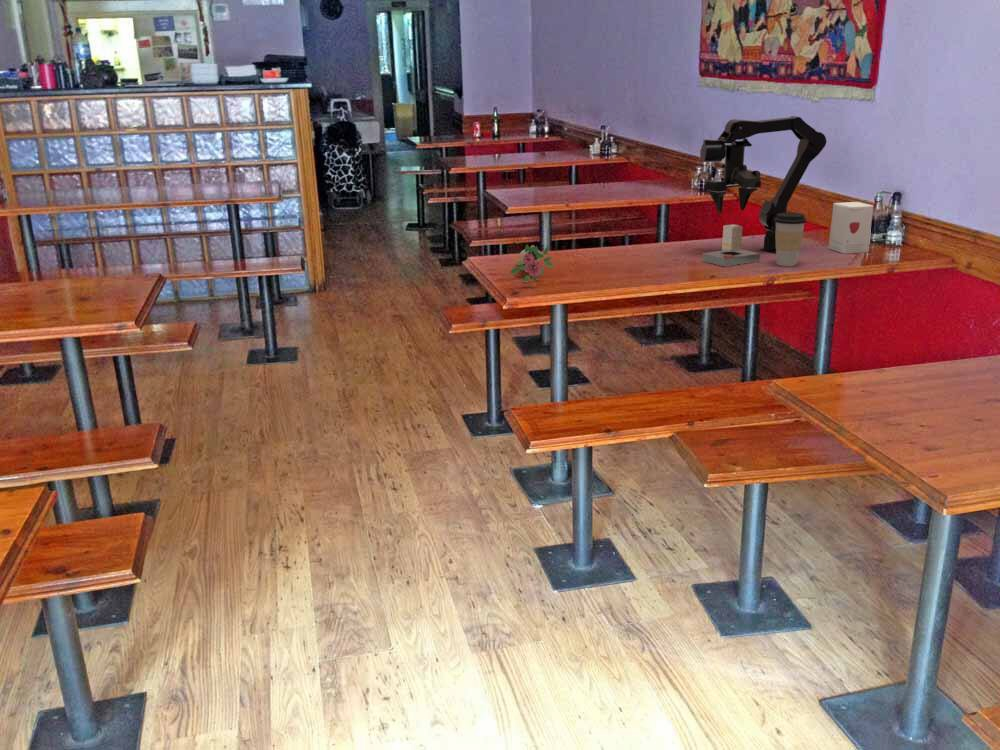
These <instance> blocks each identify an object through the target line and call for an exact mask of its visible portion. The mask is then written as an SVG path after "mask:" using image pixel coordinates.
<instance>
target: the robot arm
mask: <svg viewBox="0 0 1000 750" xmlns="http://www.w3.org/2000/svg"><path fill="white" fill-rule="evenodd" d="M784 131H791V132H792V134H794V136H795V137H796V139H798V140H799V142H798V145H797V150H796V156H795V158H794V160H793V162H792V163H791V166H790V168H789V169H788V170H787V171H788V172H787V173H786V175H785V177H784V178H783V180H782V182H781V184H780V186H779V188H778V190H777V191H776V193H775V194H774V197H773V198H772V199H771V200H767V199H765V200H764V201H763V205H762V206H761V208H760V209H758V212H759V215H758V219H759V222H760V224H762V225H763V228H764V230H765V233H764V234H765V235H764V239H763V241H764V242H763V247H760V250H762V251H765V252H770V253H776V238H775V230H776V222H774V218H775V217H776V216H777V214H778V213H788V212H787V211H788V204H789V201H790V200H791V198H792V197H793V194H794V193H795V191H796V189H797V187H798V185H799V183H800V181H801V180H802V179H803V176H804V174H805V172H806V170H807V169H808V167H809V165H810V164H811V162H812V161H813V160H814V159H816V157H818V156H819V154H820V153H821V152H822V151H823V150H824V148H825V147H826V145H827V142H828V141H827V138H826V135H825V134H824V133H823V132H820V131H817V130H816V129H815V128H814V127H812V126H811V125H809V124H808V123H807V122H806V121H805V120H803V118H802V117H800V116H797V115H796V116H795V115H791V116H788V117H780V118H769V119H759V120H746V119H737V118H734V119H729V120H728V121H727V123H726V124H725V126H724V130H723V131H722V133H721V134H720V135H719V136H718V138H717V139H703V142H702V145H701V149H700V151H699V155H700V162H701V163H720V162H722V161H723V160H724V163H723V164H721V168H722V169H724V171H723V172H724V173H723V177H720V180H717V179H714V180H706V181H705V182H704V185H703V189H704V191H706V192H707V193H709V194H710V195H709V196H711V199H712V200H713V203H714V205H715V208H716V210H717V212H718V214H722V213H723V212H722V211H723V205H724V196H725V195H726V193H727V192H726V191H725V190H726V189H728V188H736V187H737V188H738V198H739V199H738V201H739V209H740V211H745V208H746V206H747V204H748V201H749V199H750V197H751V195H752V194H753V193H754V192H755V191H757V190H758V188H761V187H762V181H761V172H760V171H759V170H752V171H748V166H747V164H744V163H745V162H744V161H745V149H746V147H752V146H753V145H752V143H751V142H750V141H749V140H748V138H750V137H752V136H755V135H758V134H765V133H774V132H775V133H776V132H784Z"/></svg>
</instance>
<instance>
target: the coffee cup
mask: <svg viewBox="0 0 1000 750" xmlns="http://www.w3.org/2000/svg"><path fill="white" fill-rule="evenodd" d="M807 219H808V218H806V217H805V214H804V213H799V212H786V213H778V214H777V216H776V217H775V218H774V222H776V230H775V238H776V254H775V256H776V265H777V264H778V265H777V266H779V265H781V266H780V267H795V265H796V266H797V265H798V259H799V254H800V250H801V246H802V242H803V241H802V240H803V235H804V227H805V224H806V223H807V222H808V221H807Z"/></svg>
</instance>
